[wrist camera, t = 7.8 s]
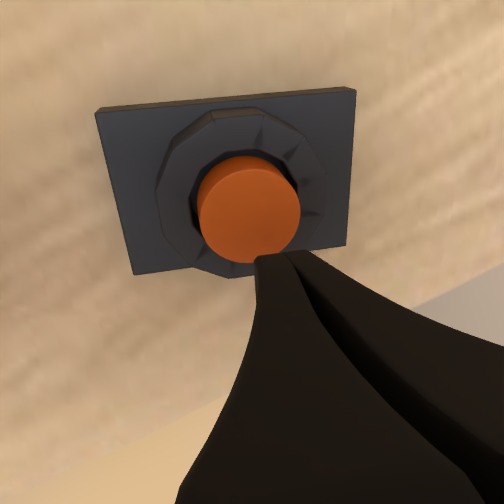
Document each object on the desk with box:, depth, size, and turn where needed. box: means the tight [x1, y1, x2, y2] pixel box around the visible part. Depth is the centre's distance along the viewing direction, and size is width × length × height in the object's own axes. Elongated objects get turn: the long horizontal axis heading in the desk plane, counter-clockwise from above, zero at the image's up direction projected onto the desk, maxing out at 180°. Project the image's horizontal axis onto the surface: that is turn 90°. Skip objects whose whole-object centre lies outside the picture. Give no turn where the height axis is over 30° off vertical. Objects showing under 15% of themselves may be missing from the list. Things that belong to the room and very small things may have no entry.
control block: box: [95, 87, 357, 279], centre depth 16 cm, size 10×7×3 cm
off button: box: [197, 155, 300, 263], centre depth 15 cm, size 4×4×2 cm
